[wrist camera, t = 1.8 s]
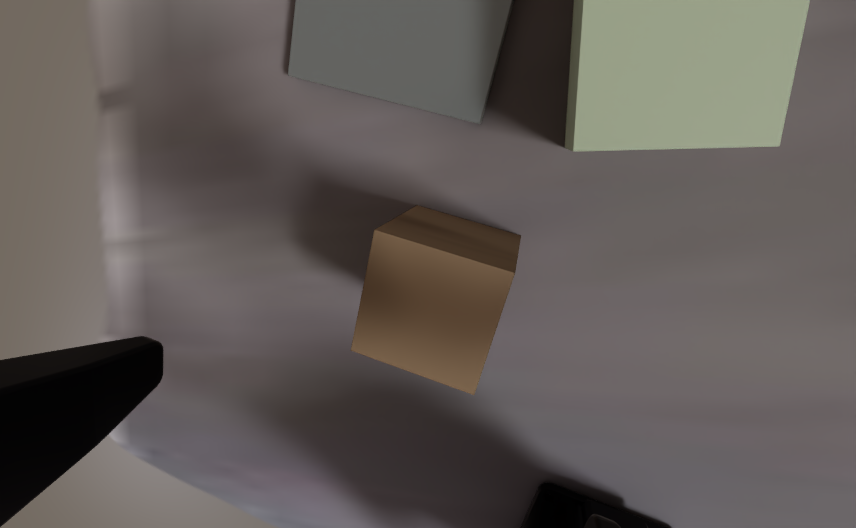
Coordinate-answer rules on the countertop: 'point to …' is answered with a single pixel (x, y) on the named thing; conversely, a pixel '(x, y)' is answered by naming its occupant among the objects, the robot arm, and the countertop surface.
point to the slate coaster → (403, 50)
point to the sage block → (681, 73)
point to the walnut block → (435, 295)
